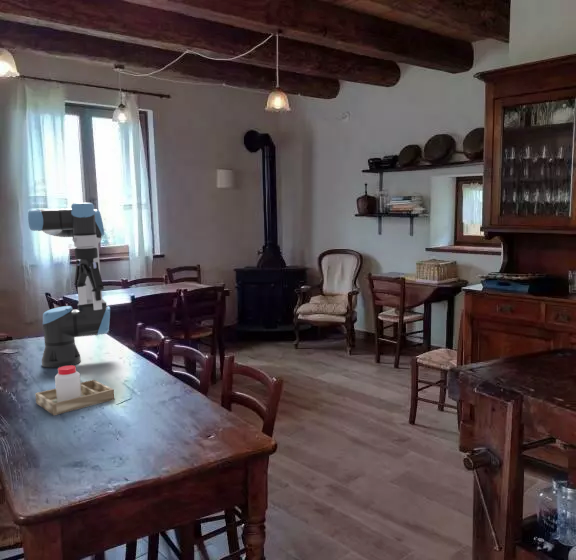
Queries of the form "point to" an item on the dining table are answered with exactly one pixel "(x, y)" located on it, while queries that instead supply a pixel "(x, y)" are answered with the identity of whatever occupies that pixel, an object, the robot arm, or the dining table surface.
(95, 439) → the dining table surface
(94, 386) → the crate
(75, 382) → the pill bottle
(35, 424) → the dining table surface
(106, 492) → the dining table surface
